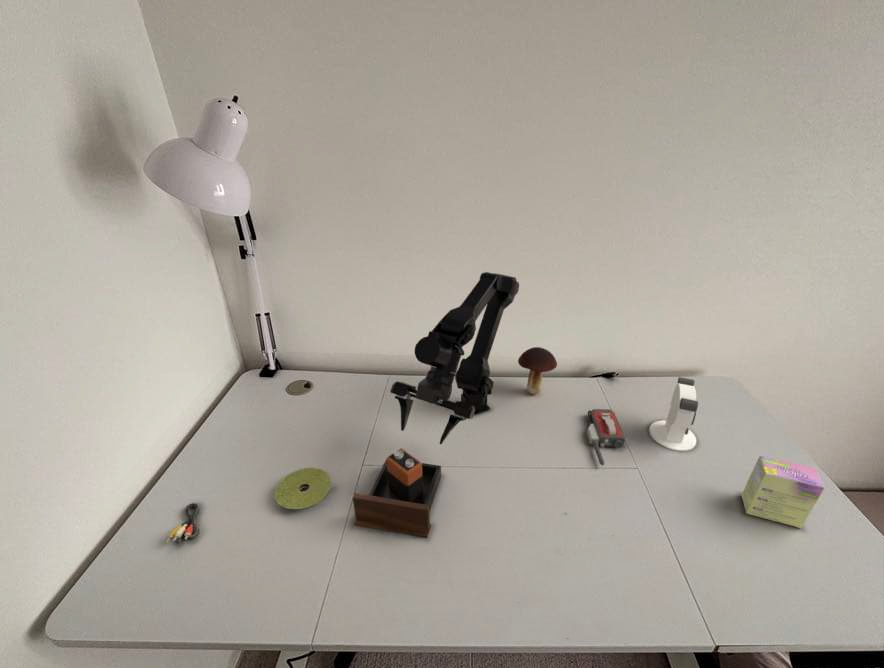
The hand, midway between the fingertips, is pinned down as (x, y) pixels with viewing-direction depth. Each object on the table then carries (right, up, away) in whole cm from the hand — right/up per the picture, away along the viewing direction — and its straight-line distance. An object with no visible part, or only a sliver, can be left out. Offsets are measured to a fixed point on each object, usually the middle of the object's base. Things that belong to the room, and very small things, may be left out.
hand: (421, 437), depth 97 cm
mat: (-24, -12, -3) cm, 27 cm away
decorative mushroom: (+29, +6, +32) cm, 44 cm away
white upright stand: (+63, -4, +17) cm, 65 cm away
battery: (-3, -11, -3) cm, 12 cm away
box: (+75, -15, -3) cm, 77 cm away
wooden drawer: (-3, -12, -4) cm, 13 cm away
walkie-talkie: (+45, -4, +14) cm, 47 cm away
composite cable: (-44, -15, -11) cm, 48 cm away
